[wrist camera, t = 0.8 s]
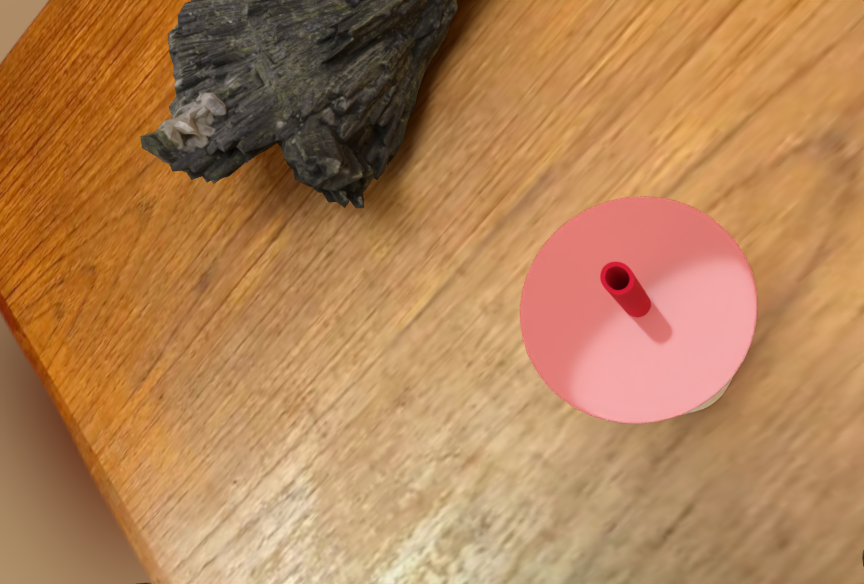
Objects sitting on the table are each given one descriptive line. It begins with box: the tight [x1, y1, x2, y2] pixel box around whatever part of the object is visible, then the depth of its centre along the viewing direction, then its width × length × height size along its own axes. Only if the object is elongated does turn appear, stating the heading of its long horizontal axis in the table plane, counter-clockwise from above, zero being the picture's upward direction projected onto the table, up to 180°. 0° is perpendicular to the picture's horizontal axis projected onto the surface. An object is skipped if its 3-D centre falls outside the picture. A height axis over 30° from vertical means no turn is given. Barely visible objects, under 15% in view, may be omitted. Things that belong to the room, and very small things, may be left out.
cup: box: [520, 197, 758, 424], centre depth 19 cm, size 5×5×12 cm
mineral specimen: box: [141, 0, 458, 208], centre depth 30 cm, size 15×13×10 cm
